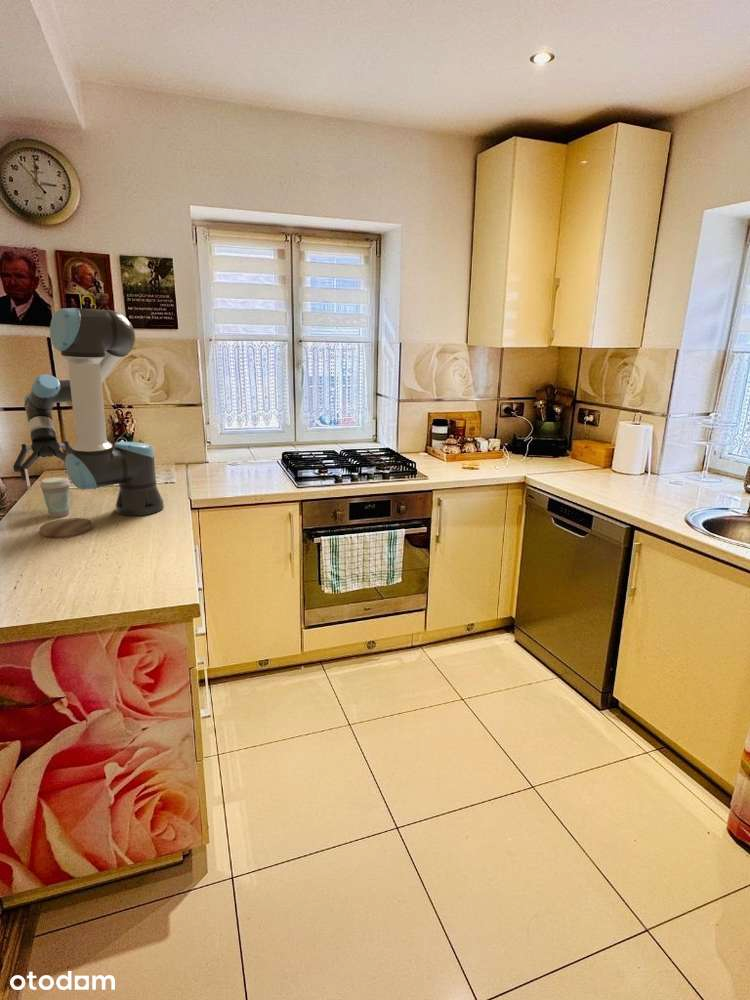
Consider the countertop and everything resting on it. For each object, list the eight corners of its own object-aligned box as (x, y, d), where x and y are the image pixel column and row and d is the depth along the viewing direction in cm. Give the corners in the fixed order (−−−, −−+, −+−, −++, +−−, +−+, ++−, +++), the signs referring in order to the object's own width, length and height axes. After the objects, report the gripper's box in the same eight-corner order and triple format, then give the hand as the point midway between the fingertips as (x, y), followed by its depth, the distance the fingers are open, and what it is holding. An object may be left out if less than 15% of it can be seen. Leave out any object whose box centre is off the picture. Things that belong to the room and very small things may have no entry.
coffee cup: (44, 520, 178) (38, 483, 174) (45, 512, 185) (40, 477, 182) (74, 516, 182) (69, 481, 178) (74, 509, 189) (69, 475, 185)
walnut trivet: (99, 522, 177) (99, 518, 176) (80, 537, 163) (79, 533, 163) (54, 522, 176) (53, 518, 175) (31, 538, 162) (30, 533, 162)
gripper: (83, 436, 200) (94, 486, 193) (0, 442, 187) (9, 495, 179) (83, 424, 195) (95, 474, 187) (-2, 429, 181) (7, 483, 174)
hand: (53, 485), depth 183 cm, fingers open, 13 cm apart
